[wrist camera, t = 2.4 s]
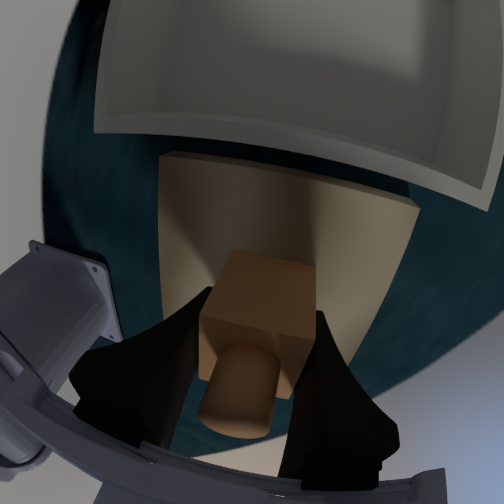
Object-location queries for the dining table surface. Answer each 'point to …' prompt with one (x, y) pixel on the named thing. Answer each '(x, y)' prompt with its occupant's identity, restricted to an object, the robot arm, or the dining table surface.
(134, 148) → the dining table surface
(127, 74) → the bin
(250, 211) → the stud board
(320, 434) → the robot arm
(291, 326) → the orange knobbed block
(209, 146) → the dining table surface
